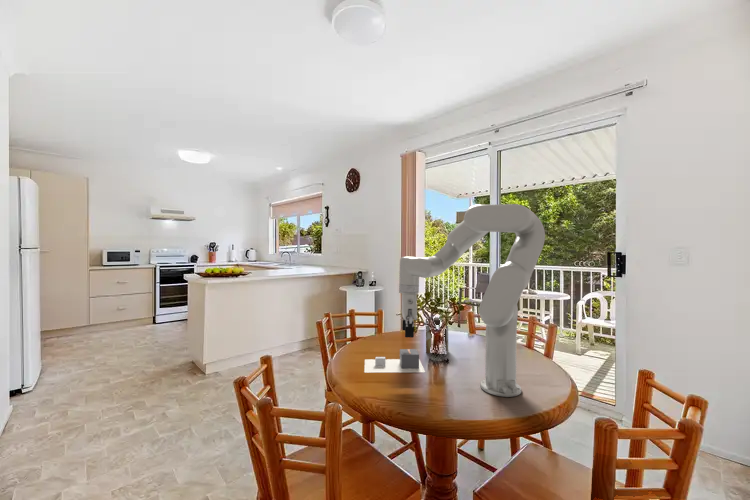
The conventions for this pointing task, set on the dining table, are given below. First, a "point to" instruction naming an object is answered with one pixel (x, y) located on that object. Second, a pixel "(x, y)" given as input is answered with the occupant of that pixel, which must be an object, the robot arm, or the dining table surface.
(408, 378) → the dining table surface
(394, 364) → the hub board
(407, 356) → the dark grey box
